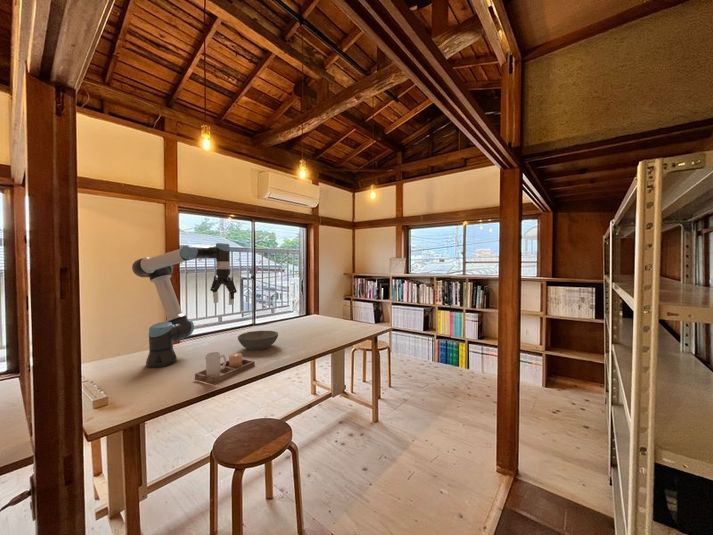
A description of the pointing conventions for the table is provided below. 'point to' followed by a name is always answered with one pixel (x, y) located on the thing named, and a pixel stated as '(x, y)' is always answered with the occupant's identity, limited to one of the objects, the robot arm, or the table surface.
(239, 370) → the divided wooden tray
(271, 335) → the bowl
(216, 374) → the mug
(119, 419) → the table surface
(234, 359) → the brown egg
